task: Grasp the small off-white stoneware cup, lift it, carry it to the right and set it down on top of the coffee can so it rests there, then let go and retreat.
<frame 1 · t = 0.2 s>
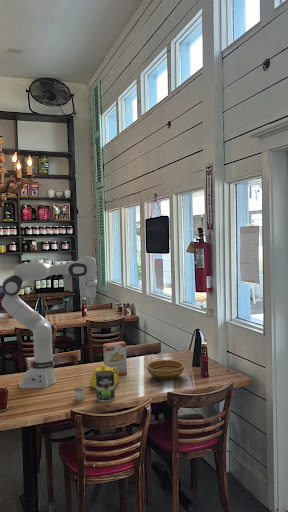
hand: (90, 303, 276), 48 cm above the table, fingers open, 8 cm apart
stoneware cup: (79, 399, 241), on the table
coffee can: (105, 398, 241), on the table
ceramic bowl: (165, 377, 273), on the table
cracker box: (115, 375, 282), on the table
teapot: (107, 387, 260), on the table
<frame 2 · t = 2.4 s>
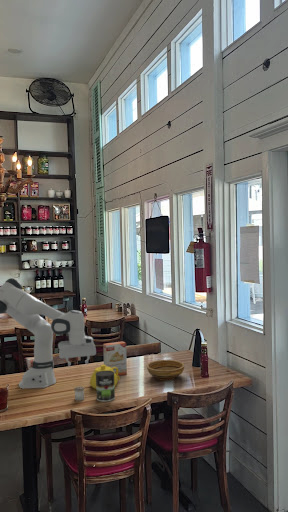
hand: (78, 364, 240), 19 cm above the table, fingers open, 8 cm apart
nothing on the table moved.
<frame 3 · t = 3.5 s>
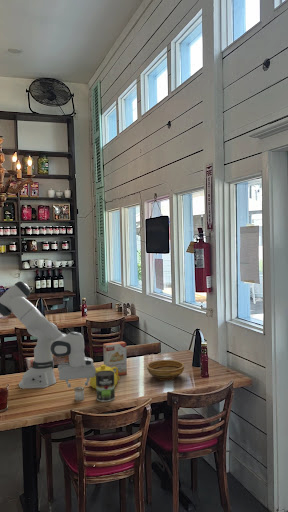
hand: (77, 386, 240), 7 cm above the table, fingers open, 8 cm apart
nothing on the table moved.
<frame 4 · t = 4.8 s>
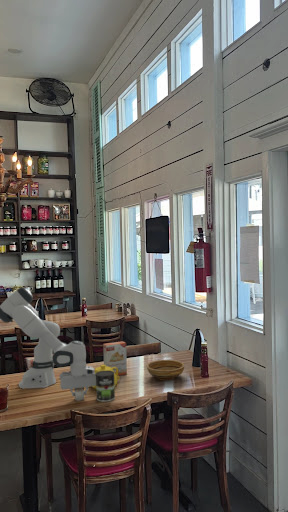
hand: (79, 395, 241), 2 cm above the table, fingers closed on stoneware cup, 5 cm apart
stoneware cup: (79, 398, 241), on the table, touching gripper
everything else where it was.
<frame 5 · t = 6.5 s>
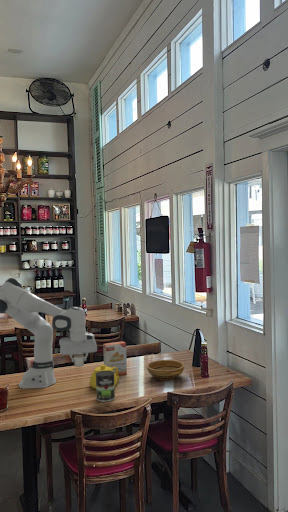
hand: (79, 361, 240), 21 cm above the table, fingers closed on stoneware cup, 5 cm apart
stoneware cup: (79, 365, 240), point 19 cm above the table, touching gripper
everything else where it was.
when the fingers open (18 cm above the table, at t = 8.4 s): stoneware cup drops 1 cm, resting on coffee can.
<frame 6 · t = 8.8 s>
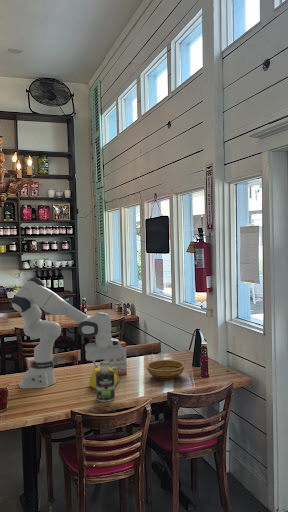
hand: (104, 366, 240), 18 cm above the table, fingers open, 8 cm apart
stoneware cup: (104, 373, 240), point 14 cm above the table, touching coffee can
coffee can: (105, 398, 241), on the table, touching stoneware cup
everything else where it was.
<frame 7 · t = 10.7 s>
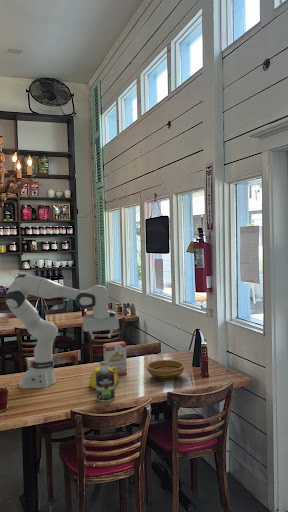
hand: (101, 338, 246), 32 cm above the table, fingers open, 8 cm apart
nothing on the table moved.
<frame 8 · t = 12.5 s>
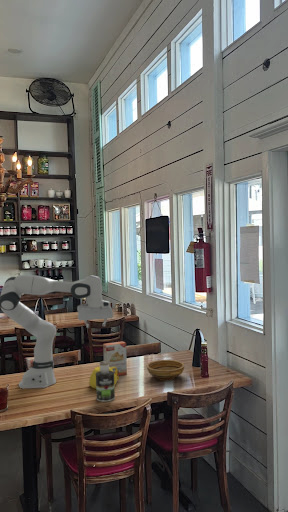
hand: (95, 326, 253), 37 cm above the table, fingers open, 8 cm apart
nothing on the table moved.
at the end: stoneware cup inside the target area on the coffee can (0.1 cm from its centre), point 14.3 cm above the coffee can's base; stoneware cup tilted 0°; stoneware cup touching coffee can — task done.
